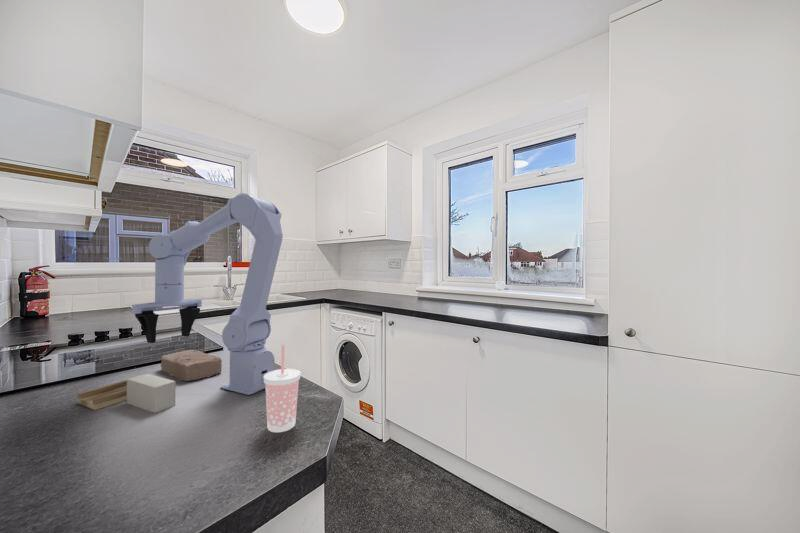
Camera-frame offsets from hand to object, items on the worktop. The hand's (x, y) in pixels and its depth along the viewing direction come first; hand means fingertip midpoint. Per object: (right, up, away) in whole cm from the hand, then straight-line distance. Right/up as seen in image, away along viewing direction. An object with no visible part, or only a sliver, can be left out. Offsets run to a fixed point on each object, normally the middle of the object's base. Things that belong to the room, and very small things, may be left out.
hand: (169, 339), depth 75 cm
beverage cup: (+37, -10, -22) cm, 44 cm away
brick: (+2, -10, +5) cm, 12 cm away
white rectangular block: (+7, -10, -14) cm, 19 cm away
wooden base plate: (-2, -10, -10) cm, 14 cm away
